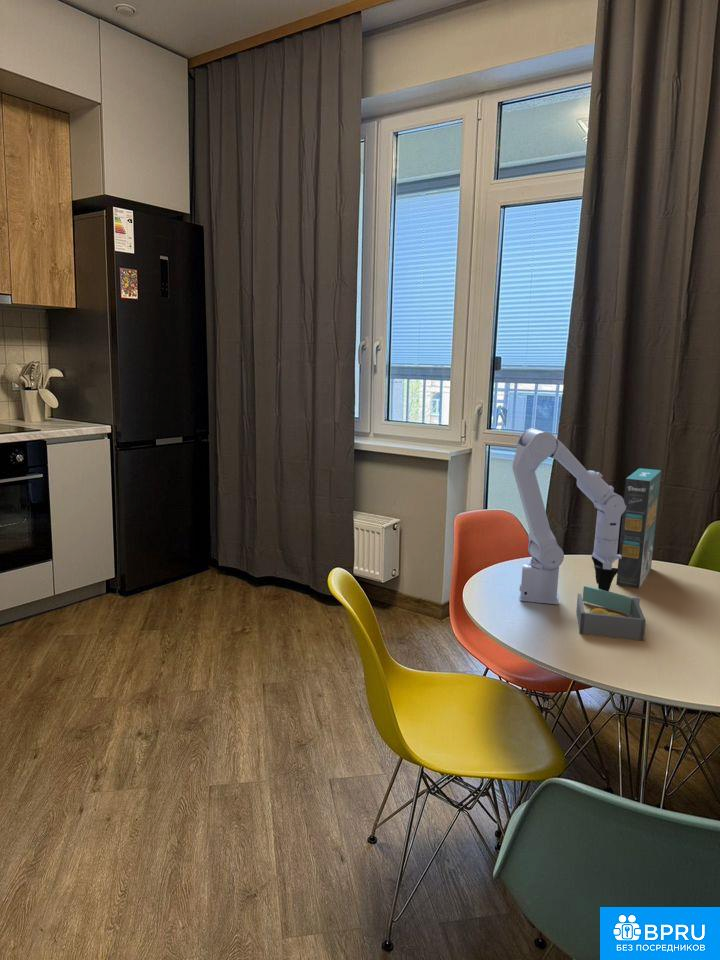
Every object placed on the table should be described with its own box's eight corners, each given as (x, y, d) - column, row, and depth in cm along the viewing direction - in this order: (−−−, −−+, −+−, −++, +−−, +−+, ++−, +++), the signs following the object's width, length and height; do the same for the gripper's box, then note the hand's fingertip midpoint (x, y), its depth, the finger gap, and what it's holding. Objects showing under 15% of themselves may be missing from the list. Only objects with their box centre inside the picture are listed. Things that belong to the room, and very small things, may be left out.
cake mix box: (629, 565, 207) (639, 468, 202) (651, 568, 204) (661, 470, 198) (616, 584, 188) (626, 478, 183) (639, 588, 185) (650, 480, 180)
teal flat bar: (639, 615, 164) (641, 597, 163) (636, 616, 163) (638, 599, 162) (584, 599, 174) (586, 583, 173) (581, 601, 173) (583, 584, 172)
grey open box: (579, 633, 154) (581, 613, 153) (575, 608, 169) (577, 590, 168) (649, 641, 150) (651, 620, 149) (639, 615, 165) (641, 597, 164)
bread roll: (619, 637, 152) (620, 620, 152) (580, 626, 158) (581, 610, 157) (631, 626, 159) (633, 610, 158) (594, 617, 164) (595, 601, 164)
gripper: (626, 546, 166) (621, 599, 169) (619, 532, 180) (615, 581, 183) (596, 543, 168) (591, 596, 170) (591, 530, 182) (587, 578, 184)
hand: (602, 588), depth 177 cm, fingers open, 7 cm apart
